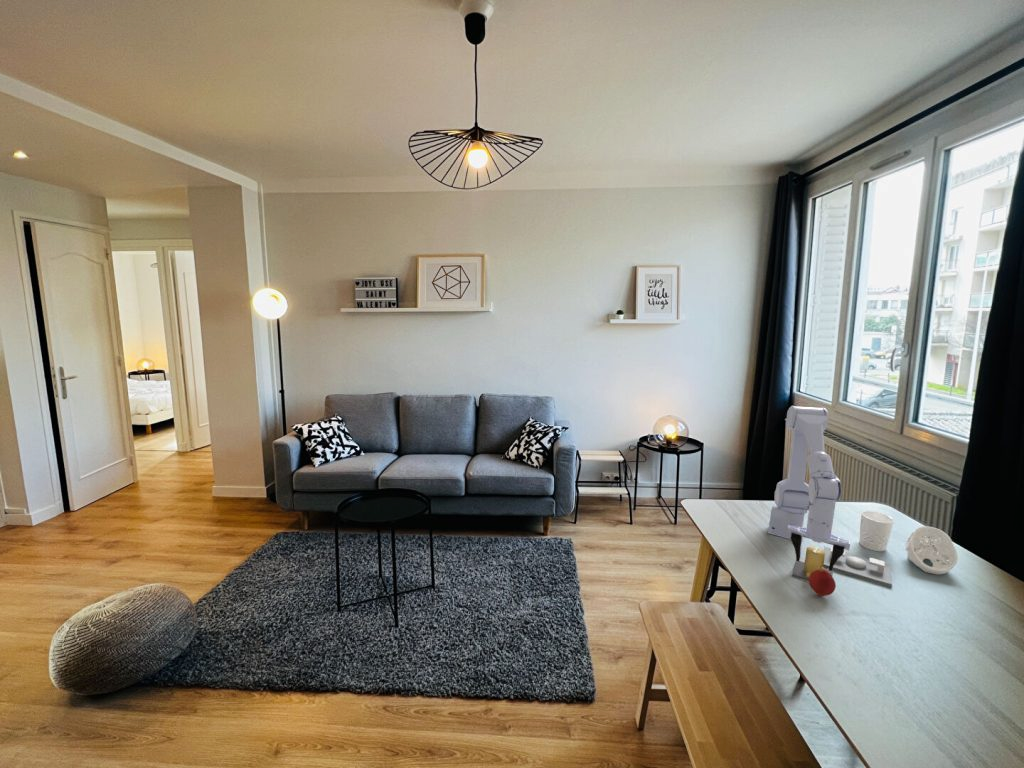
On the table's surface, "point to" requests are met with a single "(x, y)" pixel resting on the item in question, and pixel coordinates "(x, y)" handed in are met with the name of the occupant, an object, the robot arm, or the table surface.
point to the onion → (822, 582)
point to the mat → (801, 573)
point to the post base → (860, 567)
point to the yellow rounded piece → (813, 560)
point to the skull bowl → (931, 550)
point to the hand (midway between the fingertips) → (813, 564)
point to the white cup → (875, 530)
